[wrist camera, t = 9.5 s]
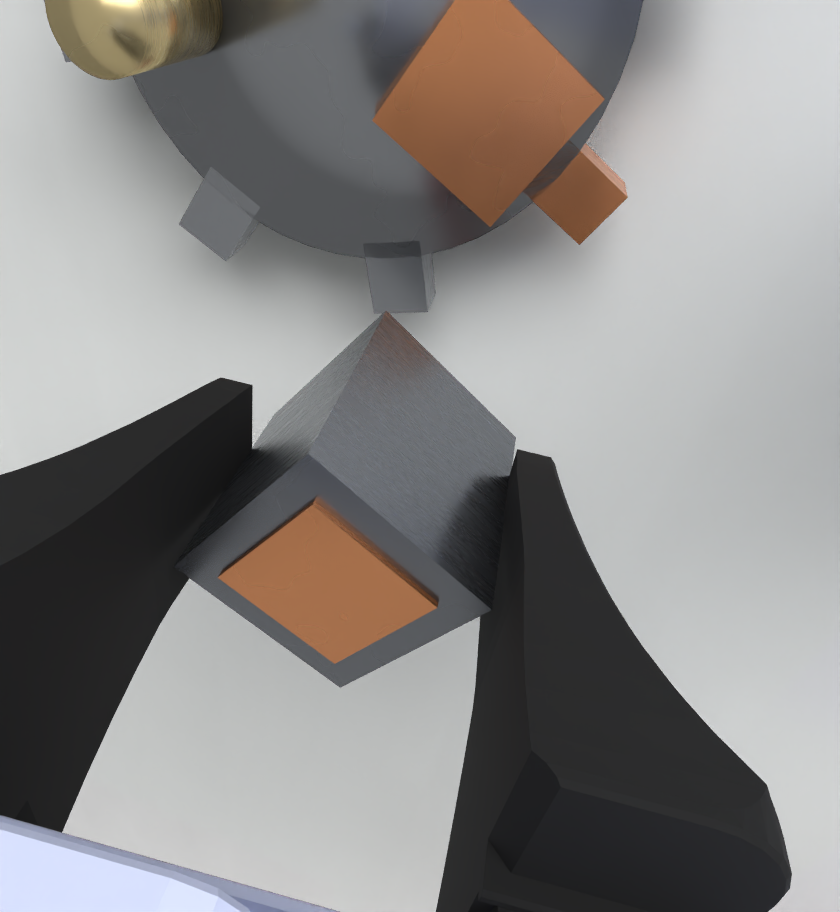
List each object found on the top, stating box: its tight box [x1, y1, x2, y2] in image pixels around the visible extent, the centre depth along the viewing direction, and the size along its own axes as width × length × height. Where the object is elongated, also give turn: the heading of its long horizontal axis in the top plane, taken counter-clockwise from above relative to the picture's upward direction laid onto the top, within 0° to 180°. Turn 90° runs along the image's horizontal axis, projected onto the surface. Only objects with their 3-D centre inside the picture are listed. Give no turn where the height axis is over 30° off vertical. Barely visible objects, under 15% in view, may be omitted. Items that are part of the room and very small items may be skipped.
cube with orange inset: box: [174, 311, 516, 687], centre depth 12 cm, size 4×4×4 cm
